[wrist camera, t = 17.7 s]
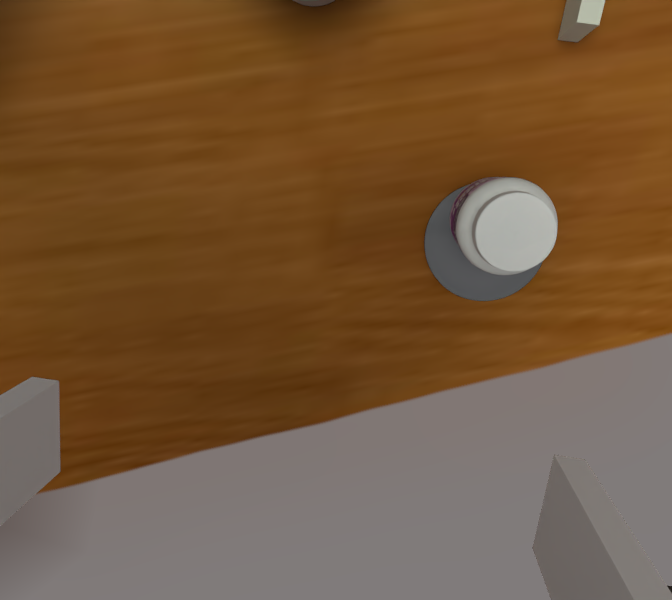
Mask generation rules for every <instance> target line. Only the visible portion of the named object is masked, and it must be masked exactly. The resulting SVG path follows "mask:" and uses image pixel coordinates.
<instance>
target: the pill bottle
mask: <svg viewBox="0 0 672 600" xmlns="http://www.w3.org/2000/svg"><path fill="white" fill-rule="evenodd" d="M557 226H558V220H557V214H556V210H555V207H554V205H553V203H552V201H551V199H550V198H549V197H548V195H547V194H546V193H545V192H544V191H543V190H542V189H541V188H540V187H539V186H537V185H536V184H534V183H532V182H530V181H527V180H524V179H520V178H515V177H490V178H484V179H480V180H478V181H475V182H473V183H472V184H470V185H468V186H467V187H466V188H464V189H463V190H462V191H461V192H460V193H459V195H458V196H457V198H456V199H455V201H454V203H453V205H452V208H451V212H450V228H451V232H452V235H453V237H454V239H455V241H456V243H457V244H458V246H459V247H460V249H461V251H462V252H463V254H464V255H465V257H466V258H467V259H468V260H469V261H470V262H471V263H472V264H473V265H475V266H476V267H478V268H479V269H481V270H483V271H486V272H488V273H491V274H496V275H513V274H518V273H521V272H524V271H526V270H528V269H530V268H532V267H534V266H536V265H538V264H539V263H541V262H542V261H543V260H544V259H545V258H546V257H547V256H548V255H549V253H550V252H551V250H552V249H553V247H554V244H555V241H556V237H557Z"/></svg>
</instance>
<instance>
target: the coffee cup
mask: <svg viewBox="0 0 672 600" xmlns="http://www.w3.org/2000/svg"><path fill="white" fill-rule="evenodd" d="M293 1H295V2H297V3H299V4H302V5H306V6H322V5H326V4H329V3H331V2H333V1H335V0H293Z"/></svg>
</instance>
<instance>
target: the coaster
mask: <svg viewBox="0 0 672 600" xmlns="http://www.w3.org/2000/svg"><path fill="white" fill-rule="evenodd" d="M469 185H470V184H469ZM467 186H468V185H466V186H464V187H461V188H459V189H457V190H456V191H454V192H452V193H451V194H449V195H448V196H447V197H446V198H445V199H444V200H443V201H442V202H441V203H440V204H439V205H438V206H437V208H436V209H435V210H434V212H433V214H432V215H431V217H430V220H429V222H428V225H427V228H426V232H425V254H426V258H427V262H428V264H429V267H430V269H431V271H432V273H433V274H434V276H435V277H436V278H437V280H438V281H439V282H440V283H441V284H442V285H443V286H444V287H445V288H446V289H448V290H449V291H451V292H452V293H454V294H456V295H458V296H460V297H463V298H466V299H470V300H477V301H490V300H497V299H500V298H504V297H507V296H509V295H511V294H513V293H515V292H517V291H518V290H520V289H521V288H523V287H524V286H525V285H526V284H527V283H528V282H529V281H530V280H531V279H532V278H533V277H534V276H535V274H536V273H537V271H538V270H539V268H540V266H541V264H542V262H543V261H542V262H541V263H539V264H538V265H536V266H534V267H532V268H530V269H528V270H526V271H524V272H521V273H518V274H513V275H496V274H491V273H488V272H486V271H483V270H481V269H479V268H478V267H476V266H475V265H473V264H472V263H471V262H470V261H469V260H468V259H467V258H466V257H465V255H464V254H463V252H462V251H461V249H460V247H459V246H458V244H457V243H456V241H455V239H454V237H453V235H452V232H451V228H450V212H451V208H452V205H453V203H454V201H455V199H456V198H457V196H458V195H459V193H460V192H461V191H462V190H463V189H464V188H466V187H467Z"/></svg>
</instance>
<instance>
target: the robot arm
mask: <svg viewBox="0 0 672 600" xmlns="http://www.w3.org/2000/svg"><path fill="white" fill-rule="evenodd" d="M59 472H60V418H59V381H57V380H50V379H43V378H36V377H31V378H29V379H27V380H26V381H24V382H22V383H21V384H19V385H17V386H15V387H14V388H12V389H10V390H9V391H7V392H5V393H3V394H2V395H0V526H1V525H2V524H3V523H4V522H6V521H7V519H9V518H10V517H11V516H12V515H13V514H14V513H15V512H17V510H19V509H20V508H21V507H22V506H23V505H24V504H25V503H26V502H27V501H29V500H30V499H31V498H32V497H33V496H34V495H35V494H36V493H37V492H38V491H39V490H41V489H42V488H43V487H44V486H45V485H46V484H47V483H48V482H49V481H50V480H52V479H53V478H54V477H55V476H56V475H57V474H58V473H59ZM533 551H534V553H535V556H536V559H537V562H538V565H539V567H540V570H541V573H542V576H543V578H544V581H545V584H546V586H547V590H548V592H549V595H550V598H551V600H672V586H667V585H666V584H665V582H664V581H663V579H662V578H661V576H660V575H659V573H658V571H657V570H656V568H655V567H654V565H653V564H652V562H651V560H650V559H649V557H648V556H647V554H646V553H645V551H644V550H643V548H642V547H641V545H640V543H639V542H638V540H637V539H636V537H635V536H634V534H633V533H632V531H631V530H630V528H629V527H628V525H627V523H626V522H625V520H624V519H623V517H622V516H621V514H620V513H619V511H618V509H617V508H616V506H615V505H614V503H613V502H612V501H611V499H610V497H609V496H608V494H607V493H606V491H605V490H604V488H603V486H602V485H601V483H600V482H599V480H598V479H597V477H596V476H595V474H594V472H593V471H592V469H591V468H590V466H589V465H588V464H587V462H586V460H585V459H578V458H572V457H565V456H558V455H554V458H553V462H552V466H551V471H550V475H549V480H548V483H547V488H546V492H545V496H544V501H543V506H542V509H541V514H540V518H539V522H538V527H537V531H536V535H535V540H534V544H533Z"/></svg>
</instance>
